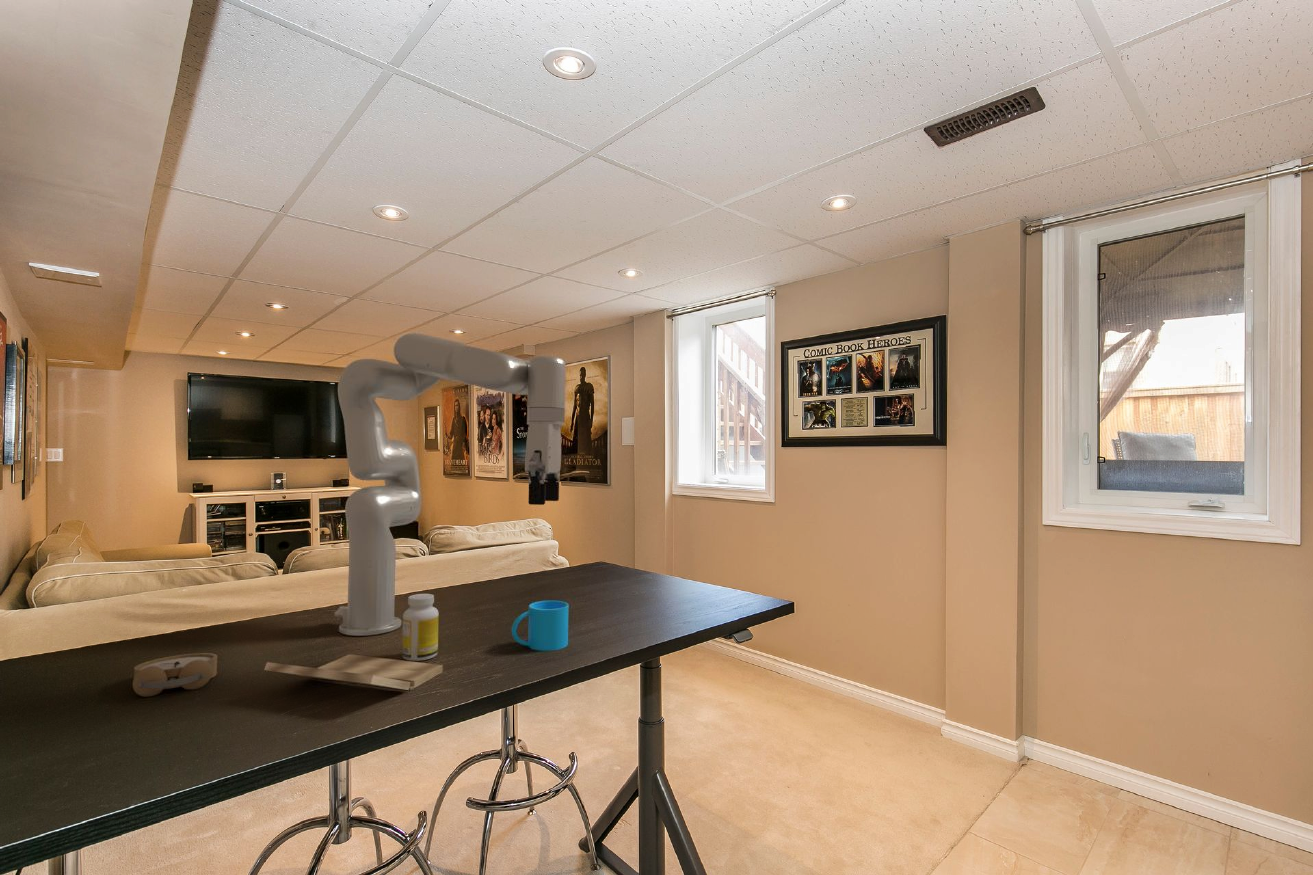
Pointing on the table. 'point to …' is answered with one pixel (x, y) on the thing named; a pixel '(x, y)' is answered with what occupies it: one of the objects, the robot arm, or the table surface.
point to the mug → (545, 626)
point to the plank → (337, 675)
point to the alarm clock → (174, 673)
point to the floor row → (386, 668)
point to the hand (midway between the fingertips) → (544, 502)
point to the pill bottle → (420, 628)
